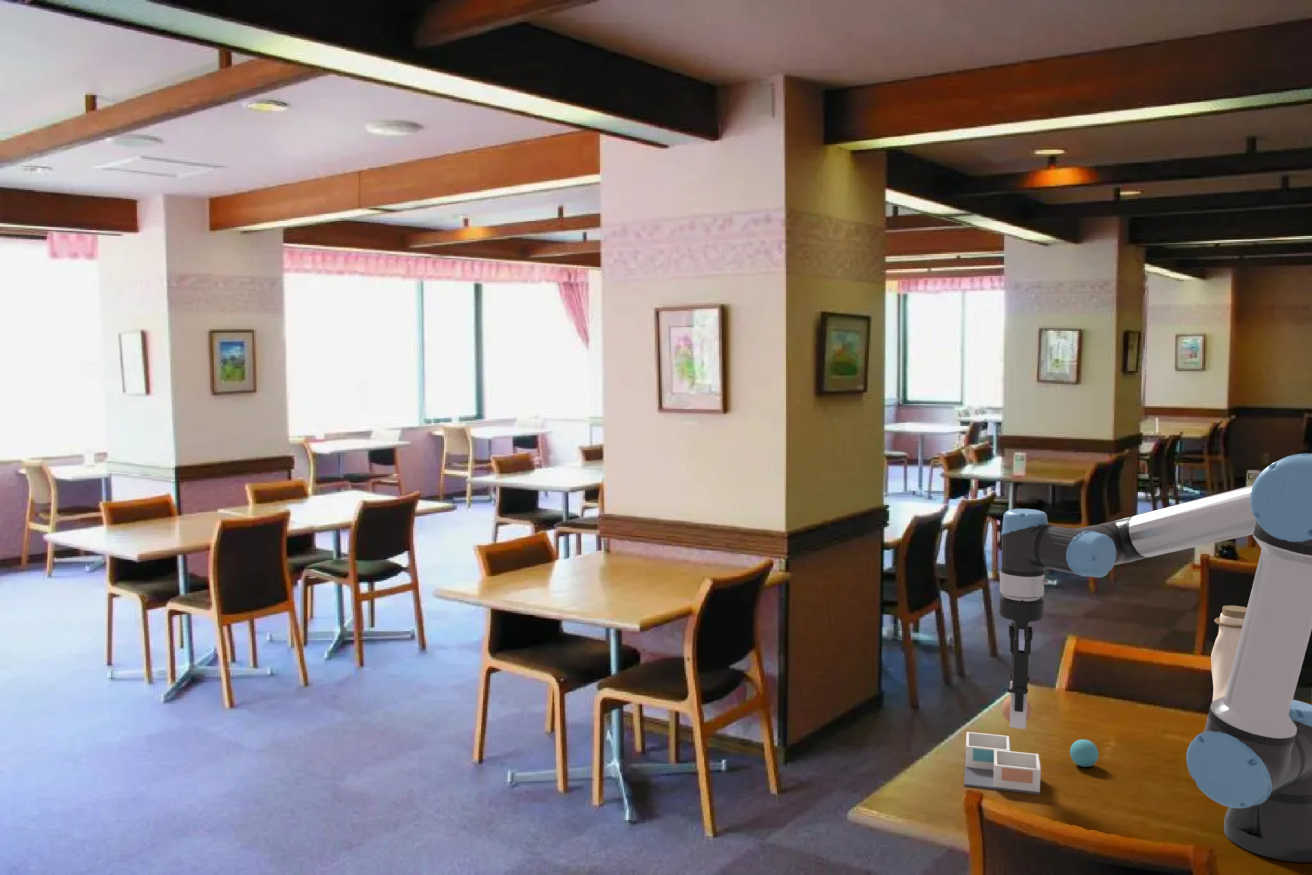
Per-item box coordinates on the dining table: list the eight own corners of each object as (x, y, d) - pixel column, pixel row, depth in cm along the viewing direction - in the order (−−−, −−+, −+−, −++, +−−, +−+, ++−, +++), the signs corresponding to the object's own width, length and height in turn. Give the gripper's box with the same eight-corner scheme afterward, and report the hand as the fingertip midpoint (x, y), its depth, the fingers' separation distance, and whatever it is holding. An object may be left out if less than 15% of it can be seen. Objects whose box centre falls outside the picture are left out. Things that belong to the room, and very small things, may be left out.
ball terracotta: (1031, 729, 193) (1032, 702, 193) (1001, 726, 195) (1003, 699, 194) (1030, 719, 198) (1031, 693, 197) (1001, 716, 199) (1002, 690, 199)
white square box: (1041, 794, 192) (1041, 770, 191) (993, 789, 194) (994, 765, 194) (1038, 777, 200) (1039, 754, 199) (993, 772, 202) (993, 749, 201)
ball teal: (1099, 772, 202) (1100, 746, 201) (1070, 769, 203) (1071, 743, 203) (1096, 762, 206) (1097, 736, 206) (1068, 759, 208) (1069, 734, 207)
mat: (1040, 794, 192) (1040, 792, 192) (964, 785, 196) (964, 783, 196) (1036, 760, 207) (1036, 758, 207) (965, 753, 211) (965, 751, 211)
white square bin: (1010, 774, 201) (1010, 751, 201) (965, 769, 203) (965, 746, 203) (1009, 758, 209) (1009, 735, 208) (966, 753, 211) (966, 731, 210)
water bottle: (1250, 740, 218) (1257, 603, 215) (1271, 757, 209) (1278, 614, 206) (1197, 738, 219) (1203, 602, 216) (1215, 755, 210) (1222, 613, 207)
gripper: (1046, 609, 184) (1041, 742, 186) (1041, 586, 201) (1037, 707, 204) (1000, 606, 186) (996, 737, 189) (999, 583, 203) (995, 703, 206)
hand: (1017, 721), depth 196 cm, fingers closed on ball terracotta, 5 cm apart
